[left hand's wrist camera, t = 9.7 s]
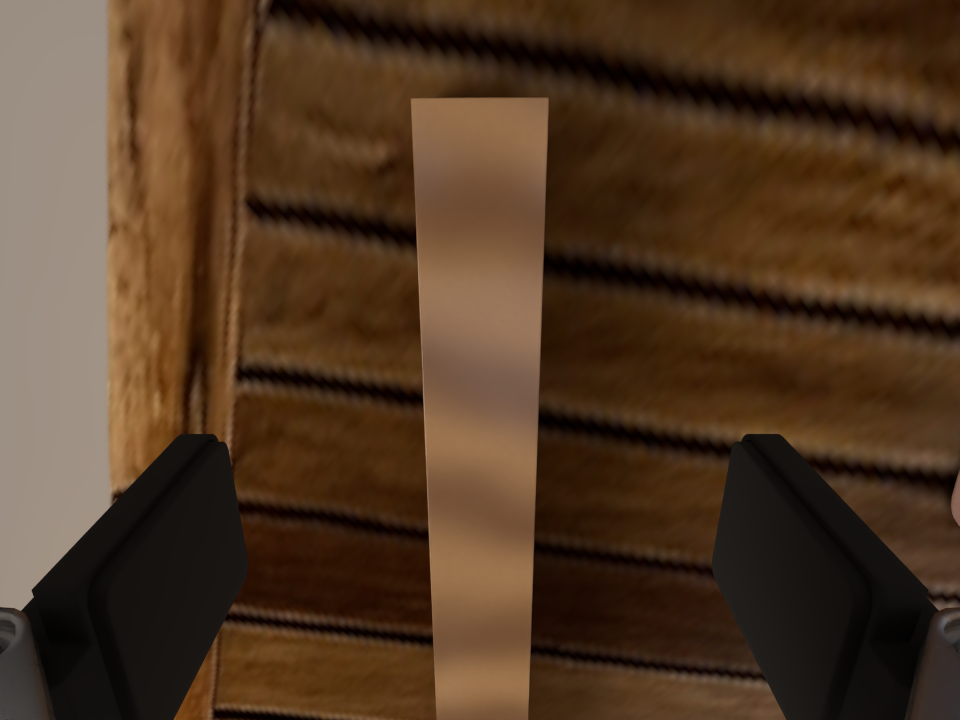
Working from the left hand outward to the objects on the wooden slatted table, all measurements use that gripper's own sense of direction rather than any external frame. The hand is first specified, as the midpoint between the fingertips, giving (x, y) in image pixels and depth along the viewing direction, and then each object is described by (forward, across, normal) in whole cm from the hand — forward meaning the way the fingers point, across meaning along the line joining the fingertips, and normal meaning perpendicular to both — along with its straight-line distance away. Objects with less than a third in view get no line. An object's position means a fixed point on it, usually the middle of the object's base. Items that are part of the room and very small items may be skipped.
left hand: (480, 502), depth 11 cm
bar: (+20, 0, -29) cm, 35 cm away
